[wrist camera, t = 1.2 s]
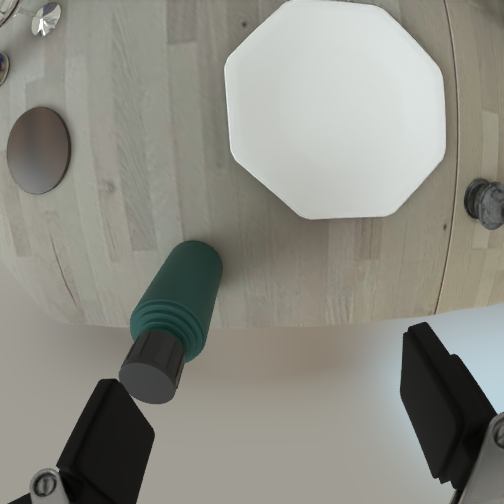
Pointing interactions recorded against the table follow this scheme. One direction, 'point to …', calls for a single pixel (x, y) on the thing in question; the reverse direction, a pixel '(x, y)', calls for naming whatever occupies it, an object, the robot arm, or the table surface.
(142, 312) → the bottle
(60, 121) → the lid
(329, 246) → the table surface
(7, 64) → the pill bottle
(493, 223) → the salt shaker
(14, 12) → the wineglass
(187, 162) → the table surface
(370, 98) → the plate
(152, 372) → the cap
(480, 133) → the table surface
